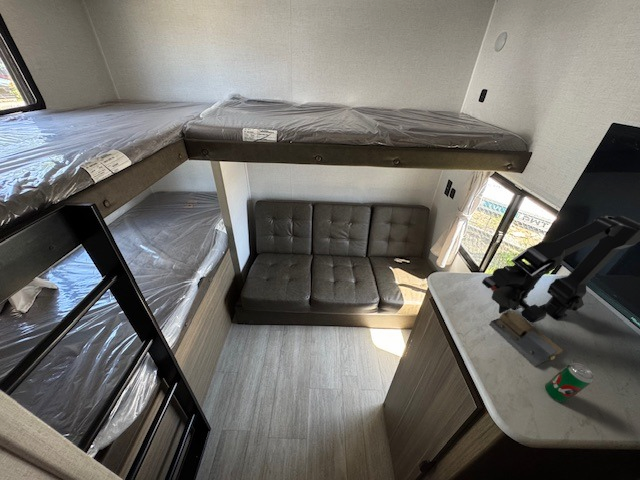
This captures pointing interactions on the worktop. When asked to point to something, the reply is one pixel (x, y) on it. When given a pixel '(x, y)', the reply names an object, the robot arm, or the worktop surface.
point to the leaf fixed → (526, 343)
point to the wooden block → (523, 327)
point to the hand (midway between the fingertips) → (500, 312)
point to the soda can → (569, 382)
